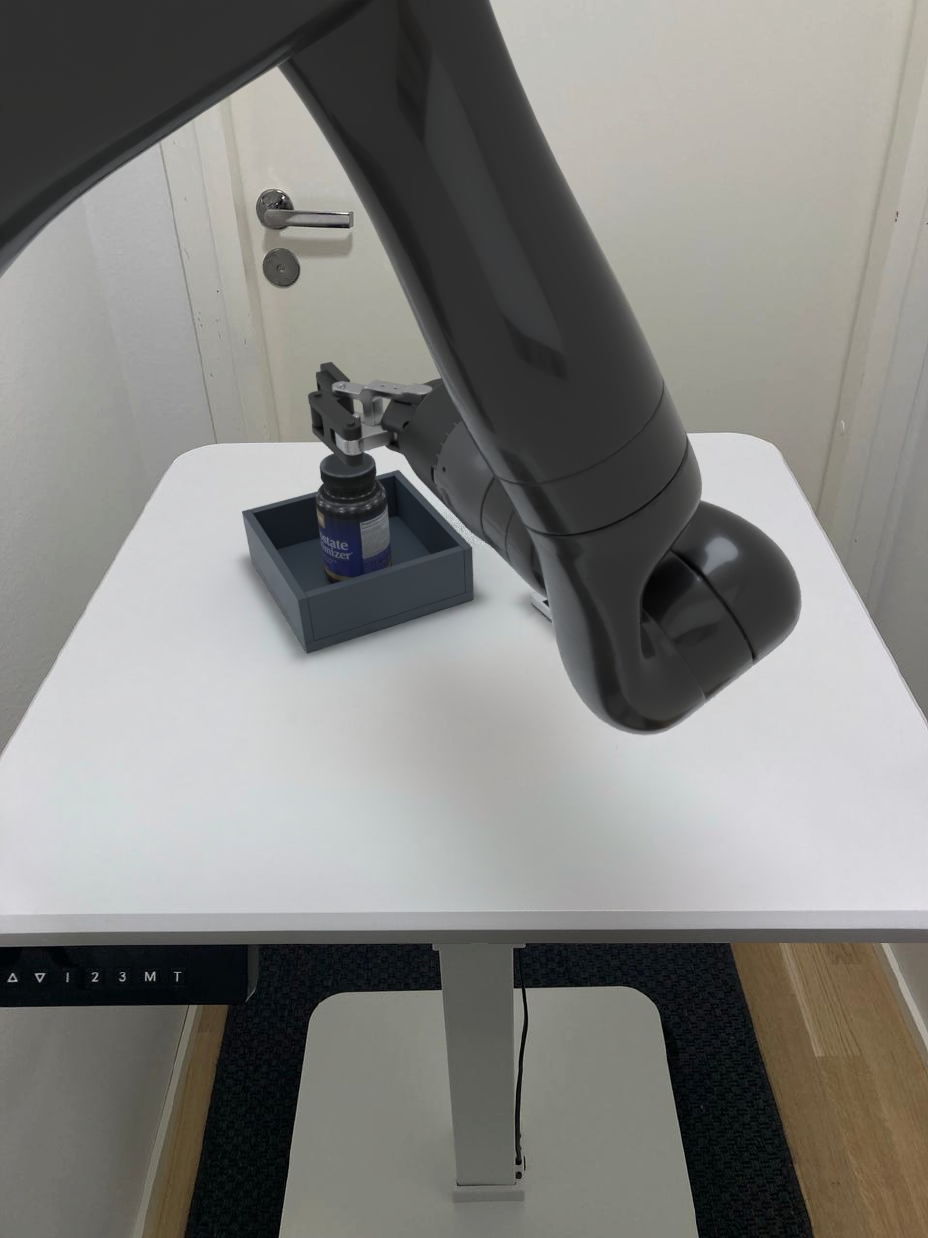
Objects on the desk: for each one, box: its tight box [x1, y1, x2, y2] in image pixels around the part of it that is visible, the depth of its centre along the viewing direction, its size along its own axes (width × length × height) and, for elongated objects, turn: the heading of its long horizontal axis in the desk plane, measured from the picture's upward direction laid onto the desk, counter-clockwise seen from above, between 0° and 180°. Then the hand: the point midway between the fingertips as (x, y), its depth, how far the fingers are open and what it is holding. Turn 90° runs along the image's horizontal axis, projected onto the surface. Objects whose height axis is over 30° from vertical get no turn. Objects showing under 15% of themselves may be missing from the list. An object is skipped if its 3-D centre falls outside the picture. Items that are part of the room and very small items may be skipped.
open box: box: [241, 469, 475, 654], centre depth 88 cm, size 16×16×6 cm
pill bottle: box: [316, 451, 392, 583], centre depth 85 cm, size 6×6×11 cm
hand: (385, 363), depth 66 cm, fingers open, 8 cm apart
